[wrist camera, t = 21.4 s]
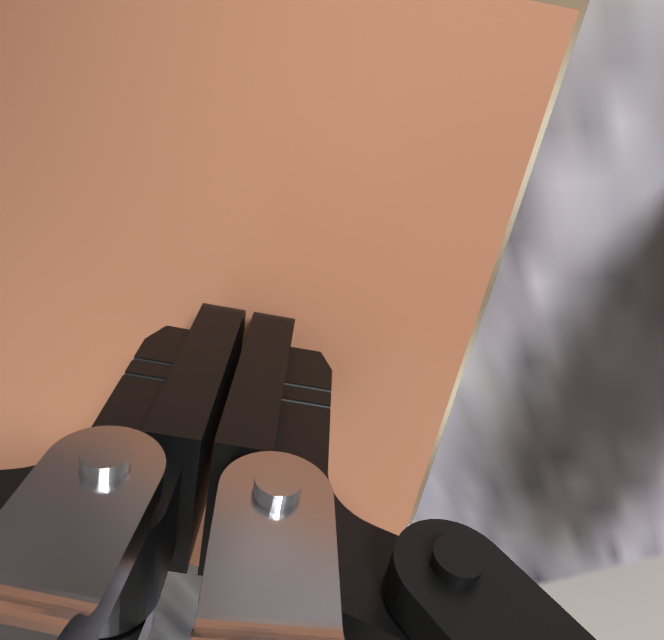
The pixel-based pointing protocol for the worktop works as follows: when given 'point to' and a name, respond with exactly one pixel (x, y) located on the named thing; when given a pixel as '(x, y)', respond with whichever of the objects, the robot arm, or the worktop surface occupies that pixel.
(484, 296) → the board
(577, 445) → the worktop surface
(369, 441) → the tile
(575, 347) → the worktop surface
